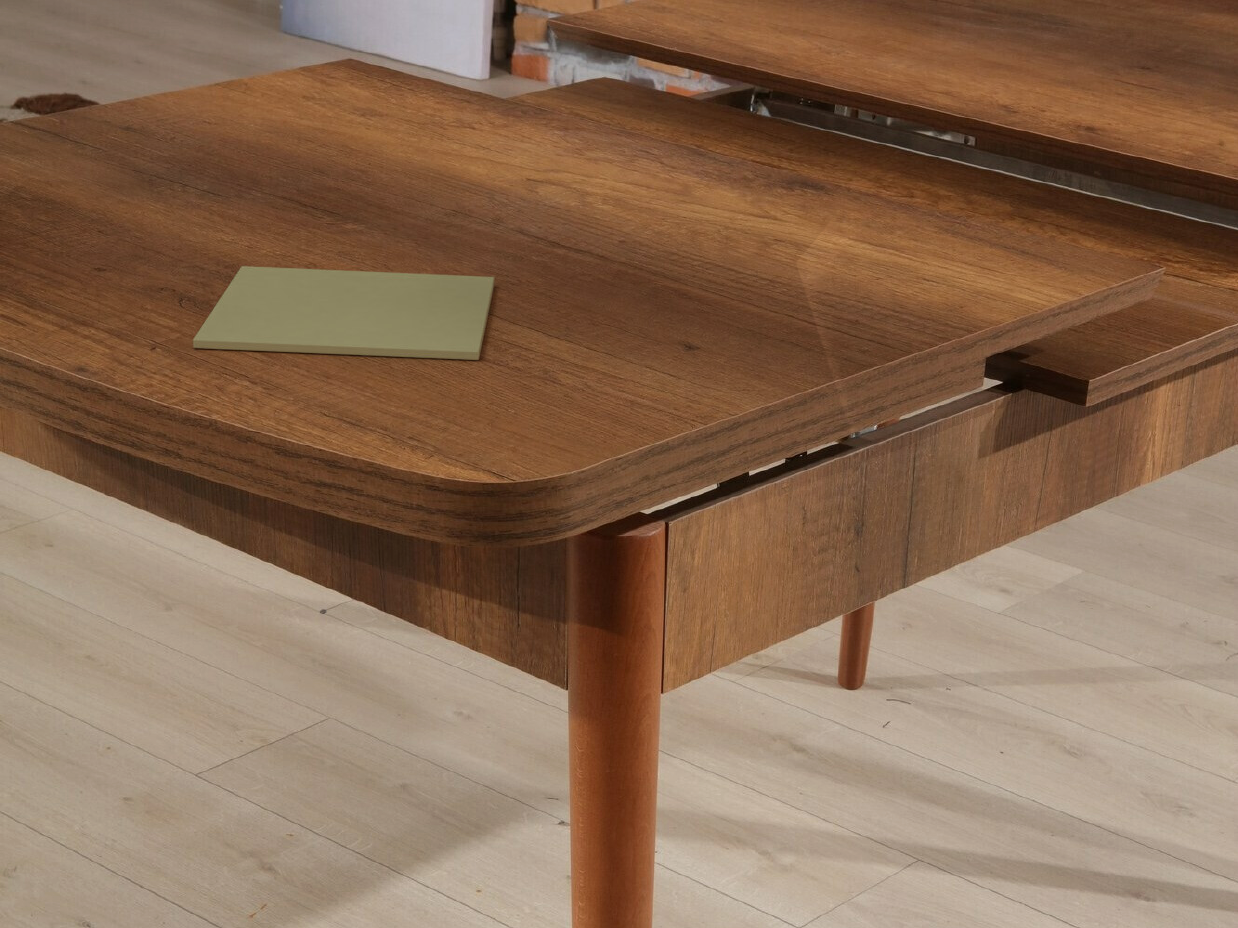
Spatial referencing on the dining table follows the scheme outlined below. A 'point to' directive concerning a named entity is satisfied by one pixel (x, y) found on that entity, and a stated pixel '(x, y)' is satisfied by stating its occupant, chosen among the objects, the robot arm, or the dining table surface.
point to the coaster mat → (350, 313)
